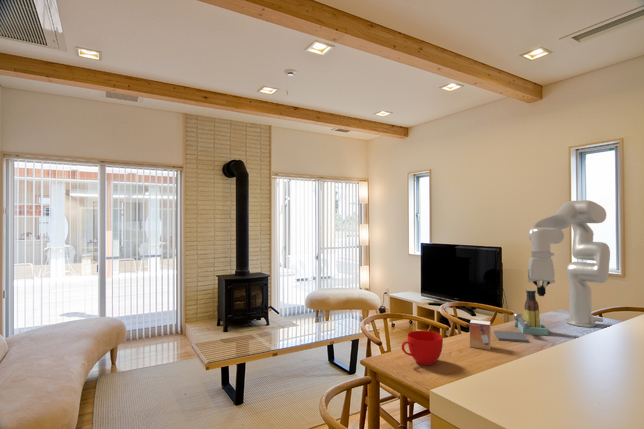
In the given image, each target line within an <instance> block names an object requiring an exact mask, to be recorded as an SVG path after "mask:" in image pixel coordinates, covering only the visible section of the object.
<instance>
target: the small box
mask: <svg viewBox="0 0 644 429" xmlns="http://www.w3.org/2000/svg"><path fill="white" fill-rule="evenodd" d="M491 324H492V323H491V321H486V320H485V321H484V320H475V319H470V322H469V348H475V349H483V350H486V351H490V349H491V345H492V339H491V338H492V337H491V335H492V330H491V329H492V328H491V327H492V326H491Z"/></svg>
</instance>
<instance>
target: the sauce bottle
mask: <svg viewBox="0 0 644 429" xmlns="http://www.w3.org/2000/svg"><path fill="white" fill-rule="evenodd" d="M525 293H526V299H525V303H524V320H525V321H526V322H529V327H533V328H540V322H541V320H540V309H539V308H540V307H539V302H538V301H537V299H536V293H537V289H534V288H533V289H529V288H527V289H526V290H525Z"/></svg>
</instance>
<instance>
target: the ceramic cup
mask: <svg viewBox="0 0 644 429" xmlns="http://www.w3.org/2000/svg"><path fill="white" fill-rule="evenodd" d="M406 336H407V337H406V338H407V341H406V340H405V341H403V342H402V344H401V350H402V352H403V353H404V354H405V355H408V356H410V357H412V359H414V360H415V362H416V363H417V364H419V365H420V366H421V365H422V366H432V365H434V364H435V363H436V362H437V361H438V360H439V359H440V357H441V355H442V350H443V346H444V344H443V341H444V340H443V339H444V338H443V335H441V334H440V333H437V332H434V331H429V330H414V331H410V332H408V333H407V335H406ZM406 345H408V346H407V347H408V350H409V352H408V351H406V348H405V346H406Z"/></svg>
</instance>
